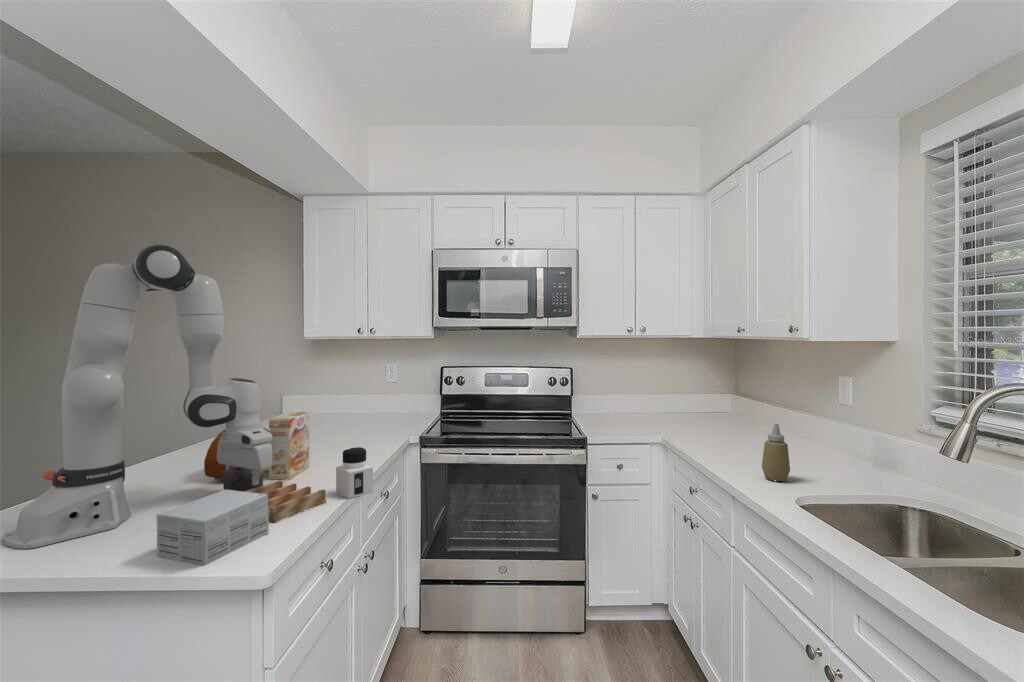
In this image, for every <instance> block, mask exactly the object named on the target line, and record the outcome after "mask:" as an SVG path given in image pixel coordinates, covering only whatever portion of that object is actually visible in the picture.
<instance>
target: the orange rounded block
mask: <svg viewBox="0 0 1024 682" xmlns="http://www.w3.org/2000/svg"><path fill="white" fill-rule="evenodd" d="M261 427H262V428H263V429H265V430H266V431H267V432H269V429H268V428H265V427H263V426H261ZM224 432H226V429H223V430H222V431H221V432H220V433H219V434H217V436H215V438H214V439H213V440H212V441H211V444H210V445H209V447H208V448H207V451H206V455H205V457H204V460H203V461H204V464H203V466H204V467H203V470H204V475H205V476H207V477H209V478H213V479H214V480H216V479H221V480H220V481H223V471H225V470H227V469H226V465H224V464H219V463H218V461H217V448H218V442H219V440H220V436H221V435H222V434H223V433H224ZM235 468H237V467H235Z"/></svg>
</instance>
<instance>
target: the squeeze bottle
mask: <svg viewBox="0 0 1024 682" xmlns="http://www.w3.org/2000/svg"><path fill="white" fill-rule="evenodd" d="M761 461H762V462H761V468H762V472H763V475H764V478H765V479H766V478H767V479H770V480H769V481H771V480H776V481H784V482H786V481H787V480H788V478H789V474H790V472H791V465H790V456H789V445H788V443H786V442H785V435H784V434H782V433H781V430H780V426H779V423H773V426H772V431H771V433H769V434H767V440H766V441H764V443H763V453H762V460H761ZM767 479H766V480H767ZM785 480H786V481H785Z"/></svg>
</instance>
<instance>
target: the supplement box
mask: <svg viewBox="0 0 1024 682" xmlns="http://www.w3.org/2000/svg"><path fill="white" fill-rule="evenodd" d="M269 530H270V529H269V521H268V495H267V494H260V493H251V492H242V491H234V490H223V489H222V490H220V491H218V492H215V493H212V494H209V495H207V496H204V497H201V498H198V499H196V500H192V501H190V502H188V503H185V504H183V505H180V506H177V507H174V508H172V509H171V508H170V509H168V510H165V511H163V512H159V513H156V543H157V544H156V547H157V548H156V552H157V553H156V557H157V558H159V559H165V560H170V561H175V562H179V563H180V562H182V563H187V564H192V565H196V566H197V565H198V566H203V567H205V566H207V565H210V564H211V563H213V562H214V561H217V560H219V559H220V558H222V557H225V556H226V555H229V554H230V553H233V552H234V551H236V550H238V549H240V548H242V547H244V546H246V545H248V544H251V543H252V542H254V541H256V540H258V539H260V538H262V537H264V536H266V535H267V534H269V532H270V531H269Z"/></svg>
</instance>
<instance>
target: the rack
mask: <svg viewBox="0 0 1024 682" xmlns="http://www.w3.org/2000/svg"><path fill="white" fill-rule="evenodd" d="M311 491H312V487H311V486H305V487H303V488H299V489H297V483H292V484H291V483H290V484H288V485H286V486H284V481H283V480H277V481H275V482H272V483H268V484H263V486H261V487H257V488H254V489H251V490H247V491H244V492H251V493H260V494H267V495H268V522H269V521H270V522H269V523H273V524H276V523H277V521H278V522H281V521H283V520H285V519H284V518H286V519H288V518H291V517H293V516H292V515H294V514H296V515H298V514H297V513H299V512H302V511H304V510H307V509H309V510H311V509H310V508H312V509H314V508H313V507H315V508H317V507H319V506H318V505H320V506H322V505H325V504H327V497H326V496H327V495H326V493H327V492H326V491H327V490H326V489H319V490H318V491H314V492H311ZM324 503H325V504H324ZM321 504H322V505H321ZM316 506H317V507H316ZM307 511H308V510H307ZM304 512H305V511H304ZM302 513H303V512H302ZM299 514H300V513H299ZM290 516H291V517H290ZM294 516H295V515H294ZM287 517H288V518H287ZM282 519H283V520H282ZM280 520H281V521H280Z"/></svg>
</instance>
